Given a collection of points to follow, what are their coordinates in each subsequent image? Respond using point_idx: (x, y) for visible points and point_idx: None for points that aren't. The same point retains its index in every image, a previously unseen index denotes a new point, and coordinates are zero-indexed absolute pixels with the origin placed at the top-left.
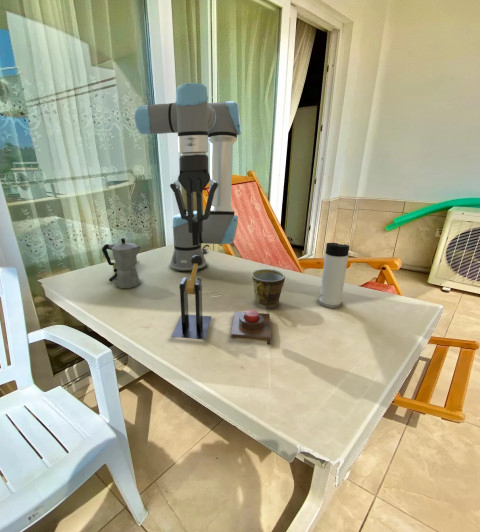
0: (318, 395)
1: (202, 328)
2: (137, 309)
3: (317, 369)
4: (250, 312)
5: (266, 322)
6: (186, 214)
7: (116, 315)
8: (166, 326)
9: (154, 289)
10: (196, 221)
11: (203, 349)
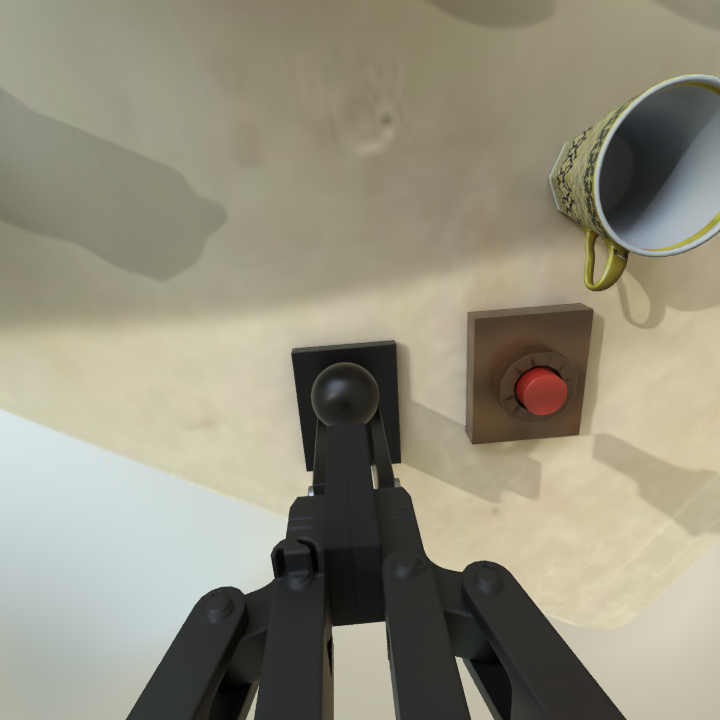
0: (631, 543)
1: (382, 417)
2: (106, 329)
3: (653, 481)
4: (541, 392)
5: (576, 365)
6: (245, 649)
7: (61, 384)
8: (263, 406)
9: (59, 127)
10: (369, 595)
11: (400, 477)
